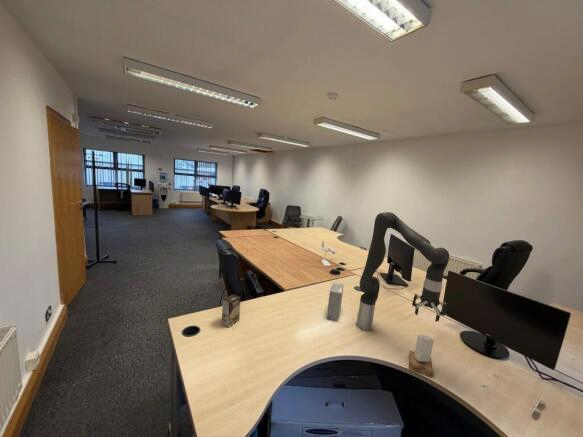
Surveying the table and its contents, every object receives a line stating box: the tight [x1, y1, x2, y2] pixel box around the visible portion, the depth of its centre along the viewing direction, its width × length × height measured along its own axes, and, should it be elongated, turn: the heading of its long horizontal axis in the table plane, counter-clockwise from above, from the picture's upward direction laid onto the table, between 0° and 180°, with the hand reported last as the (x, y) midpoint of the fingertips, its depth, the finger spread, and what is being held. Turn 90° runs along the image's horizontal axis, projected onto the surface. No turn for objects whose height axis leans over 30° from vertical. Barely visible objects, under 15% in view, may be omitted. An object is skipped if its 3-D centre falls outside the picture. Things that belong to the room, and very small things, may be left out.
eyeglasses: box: [480, 373, 543, 417], centre depth 108 cm, size 15×18×4 cm
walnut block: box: [408, 350, 433, 378], centre depth 121 cm, size 10×10×4 cm
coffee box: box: [221, 294, 241, 328], centre depth 144 cm, size 9×6×16 cm
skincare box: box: [414, 334, 434, 362], centre depth 120 cm, size 6×4×12 cm
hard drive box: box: [326, 281, 345, 322], centre depth 161 cm, size 16×8×20 cm, turn 161°
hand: (426, 317), depth 118 cm, fingers open, 8 cm apart
